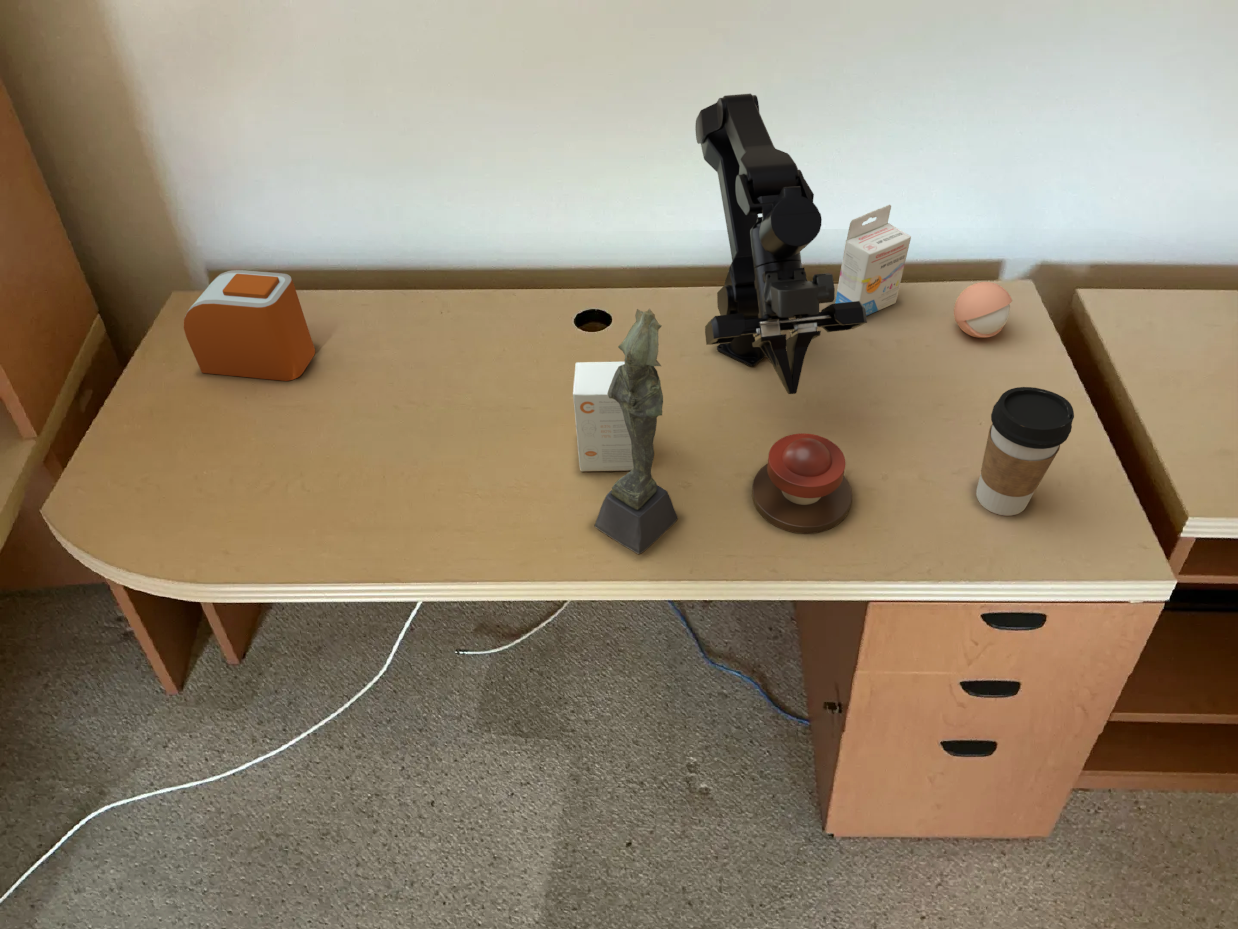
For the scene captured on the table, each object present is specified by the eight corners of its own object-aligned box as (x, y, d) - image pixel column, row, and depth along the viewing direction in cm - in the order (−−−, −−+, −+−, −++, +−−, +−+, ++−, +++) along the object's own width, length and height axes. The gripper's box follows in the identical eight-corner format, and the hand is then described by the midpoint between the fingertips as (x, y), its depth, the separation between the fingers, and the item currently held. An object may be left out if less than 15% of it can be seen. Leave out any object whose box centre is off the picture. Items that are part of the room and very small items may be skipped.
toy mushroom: (732, 502, 115) (736, 450, 109) (786, 448, 121) (793, 397, 115) (816, 549, 109) (826, 498, 103) (869, 491, 115) (881, 439, 109)
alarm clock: (320, 346, 139) (296, 268, 130) (297, 382, 133) (269, 303, 124) (228, 337, 141) (197, 260, 132) (201, 373, 136) (166, 295, 126)
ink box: (856, 322, 140) (872, 235, 129) (833, 306, 143) (847, 220, 132) (897, 303, 143) (916, 216, 132) (874, 287, 146) (891, 202, 135)
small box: (642, 437, 123) (641, 359, 114) (642, 471, 119) (641, 393, 110) (580, 438, 124) (574, 360, 114) (578, 472, 119) (572, 394, 110)
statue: (593, 527, 113) (578, 324, 91) (633, 491, 117) (627, 289, 95) (639, 556, 109) (635, 352, 88) (679, 518, 113) (684, 314, 92)
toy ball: (977, 355, 134) (991, 309, 128) (936, 328, 138) (948, 283, 133) (1015, 335, 137) (1031, 289, 131) (974, 309, 141) (987, 264, 136)
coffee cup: (1027, 534, 110) (1066, 441, 99) (955, 506, 113) (987, 414, 103) (1045, 489, 115) (1085, 396, 104) (977, 464, 118) (1008, 372, 108)
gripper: (713, 258, 105) (729, 397, 105) (875, 242, 106) (890, 379, 107) (698, 279, 116) (712, 404, 116) (844, 264, 118) (858, 387, 118)
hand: (792, 393), depth 114 cm, fingers closed
